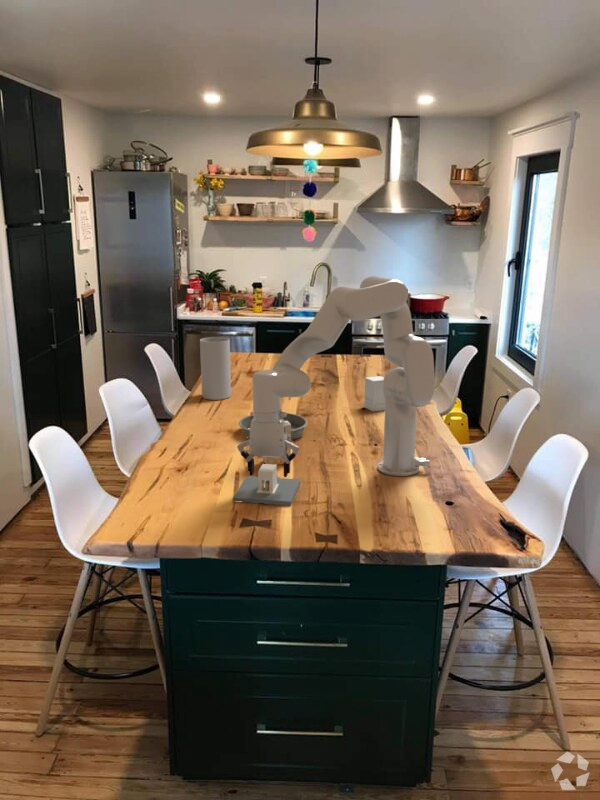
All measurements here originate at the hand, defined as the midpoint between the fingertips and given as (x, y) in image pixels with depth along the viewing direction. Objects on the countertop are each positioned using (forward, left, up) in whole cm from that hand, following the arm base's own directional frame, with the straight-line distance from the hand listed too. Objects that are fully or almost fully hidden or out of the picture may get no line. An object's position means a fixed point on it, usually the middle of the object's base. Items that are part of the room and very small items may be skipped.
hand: (269, 474), depth 187 cm
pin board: (0, 0, -5) cm, 5 cm away
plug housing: (0, 0, -4) cm, 4 cm away
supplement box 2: (-26, -92, -6) cm, 95 cm away
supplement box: (+2, -24, -6) cm, 24 cm away
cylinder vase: (+43, -100, -6) cm, 109 cm away
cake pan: (+9, -54, -6) cm, 55 cm away
